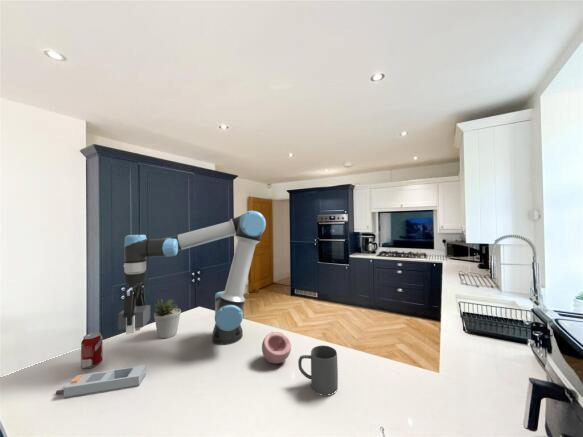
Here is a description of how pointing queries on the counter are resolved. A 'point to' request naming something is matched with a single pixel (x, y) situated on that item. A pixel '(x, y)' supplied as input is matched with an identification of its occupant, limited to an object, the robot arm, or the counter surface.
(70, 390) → the socket strip
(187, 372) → the counter surface
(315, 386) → the mug
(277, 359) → the pink round pot
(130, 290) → the robot arm
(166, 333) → the potted plant
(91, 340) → the soda can
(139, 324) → the plug
